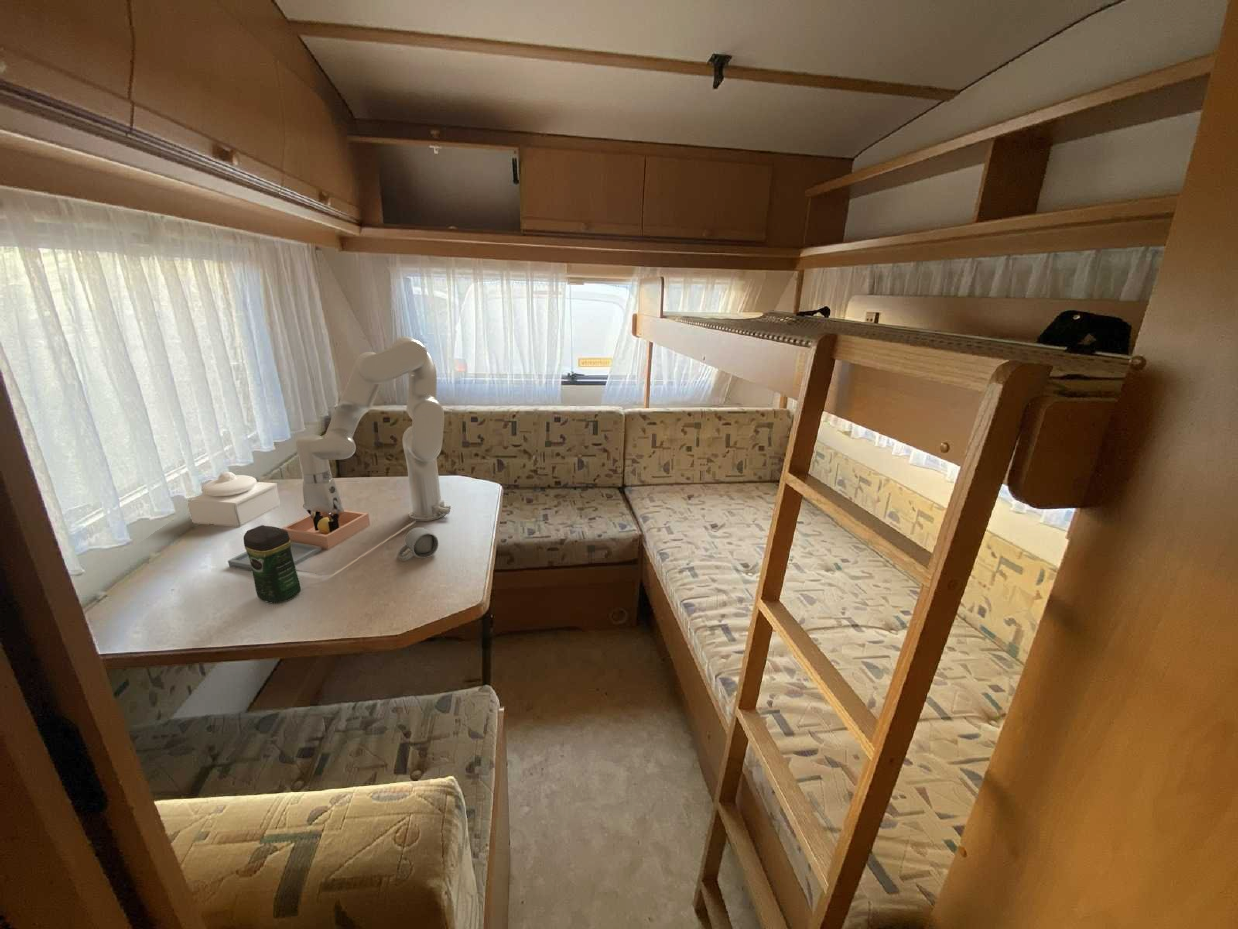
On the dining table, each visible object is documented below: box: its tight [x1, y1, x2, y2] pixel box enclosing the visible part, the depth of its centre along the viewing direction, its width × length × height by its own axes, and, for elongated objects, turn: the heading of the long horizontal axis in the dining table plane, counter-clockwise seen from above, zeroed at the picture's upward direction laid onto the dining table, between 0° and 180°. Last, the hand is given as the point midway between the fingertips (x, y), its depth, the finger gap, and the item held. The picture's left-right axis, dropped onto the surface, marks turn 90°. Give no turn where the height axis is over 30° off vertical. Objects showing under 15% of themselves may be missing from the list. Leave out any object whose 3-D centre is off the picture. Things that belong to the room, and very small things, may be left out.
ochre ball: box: [317, 517, 330, 533], centre depth 158 cm, size 5×5×5 cm
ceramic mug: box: [397, 527, 439, 562], centre depth 147 cm, size 11×8×8 cm
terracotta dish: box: [281, 509, 371, 550], centre depth 158 cm, size 17×17×5 cm
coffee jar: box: [243, 524, 302, 604], centre depth 125 cm, size 10×8×19 cm
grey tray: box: [227, 542, 323, 572], centre depth 144 cm, size 18×14×2 cm
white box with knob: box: [187, 471, 281, 528], centre depth 170 cm, size 18×18×16 cm
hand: (327, 529), depth 158 cm, fingers closed on ochre ball, 4 cm apart
